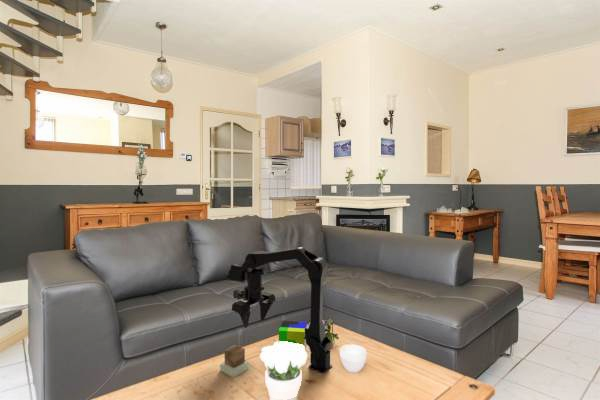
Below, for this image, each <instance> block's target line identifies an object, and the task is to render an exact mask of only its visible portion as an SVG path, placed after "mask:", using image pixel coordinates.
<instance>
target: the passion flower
mask: <svg viewBox="0 0 600 400" xmlns="http://www.w3.org/2000/svg"><path fill="white" fill-rule="evenodd" d="M322 321H323V324H324V327H325V333H326V336H327V337H328V338H329V339H330V341H331V342H332V343H333V342H334V343H335V340H339V339H340V338H339V336H338V335H339V334H338V333H334V329H333V328H334V322H333V320H331V318H329V319H326V320H322Z"/></svg>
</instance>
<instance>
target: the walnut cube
mask: <svg viewBox="0 0 600 400" xmlns="http://www.w3.org/2000/svg"><path fill="white" fill-rule="evenodd" d="M245 351H246V350H245V348H244V347H241V346H239V345H236V344H234V345H231V346H230V347H228V348H226V349H224V362H225V364H227V365H229V366H231V367H233V368H235V367H237V366H239V365H241V364H243V363H245V361H246V357H245V355H246V352H245Z"/></svg>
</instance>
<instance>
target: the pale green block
mask: <svg viewBox="0 0 600 400" xmlns="http://www.w3.org/2000/svg"><path fill="white" fill-rule="evenodd" d="M247 370H249V362H248V361H246V360H245V363H243V364H241V365H239V366H237V367H235V368H233V367H231V366H229V365H227V364H225V361H222V362H221V363H220V366H219V371H220V372H222V373H224V374H226V375H228V376H230V377H232V378H235V377H238V376H239V375H240V374H242V373H244V372H246V371H247Z"/></svg>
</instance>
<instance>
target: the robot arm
mask: <svg viewBox="0 0 600 400" xmlns="http://www.w3.org/2000/svg"><path fill="white" fill-rule="evenodd" d="M291 260H296V261H298V263H300V265H301V266H302V267H303V268H304V269H305V270H307V275H308V279H309V282H310V316H309V317H310V321H309V322H308V323H307V326H306V327H305V338H304V339H306V346H308V348H309V350H310V351H309V352H310V358H309V359H310V361H309V362H310V363H309V365H308V368H309V369H311V370H314V371H316V372H319V373H321V374H324V373H326V371H328V370H329V369H331V368H332V367H333V364H331V351H330V350H329V348H330V347H331V344H332V343H333V342H331V341H330V339H329V338H328V337H327V336H326V333H327V332H325V327H324V324H323V321H324V320H323V307H324V305H323V303H324V282H325V278H326V275H327V271H328V268H329V267H328V261H327V260H326V259H325V258H323V257H319V256H318V255H316V254H315V253H313V252H311V251H309V250H307V249H305V248H304V247H303V246H298V247H294V248H288V249H281V250H274V251H266V250H255V251H252V252H251V253H248V254H247V255H246V256H245V260H244V262H243V264H240V265H239V264H236V263H233V264H231V265H230V268H229V270H228V274H227V280H228V281H229V282H231V283H232V282H233V283H238V284H245V282H246V281H247V282H246V286H244V288H243V289H242V290H240V289H239V288H238V289H233V293H232V295H233V298H234V299H236V300H237V301H236V302H235V301H234V302H233V303H232V305H231V311H233V312H235V313H236V314H238V315H239V317H240V319H241V321H242V324H243V328H245V329H247V328H248V325H249V321H250V317H251V311H250V310H251V306H255V305H257V304H259V309H260V321H262V322H263V321H264V320H265V318H266V317H267V314H268V312H269V310H270V309H271V307H272V305H273V304H274V302H276V296H275V294H273V293H270V292H268V291H264V290H265V286H263V276H264V275H265V274H267V273H268V270H267V269H265V267H264V265H267V264H269V263H276V262H284V261H291ZM261 266H262V267H261ZM263 291H264V292H263Z"/></svg>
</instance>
